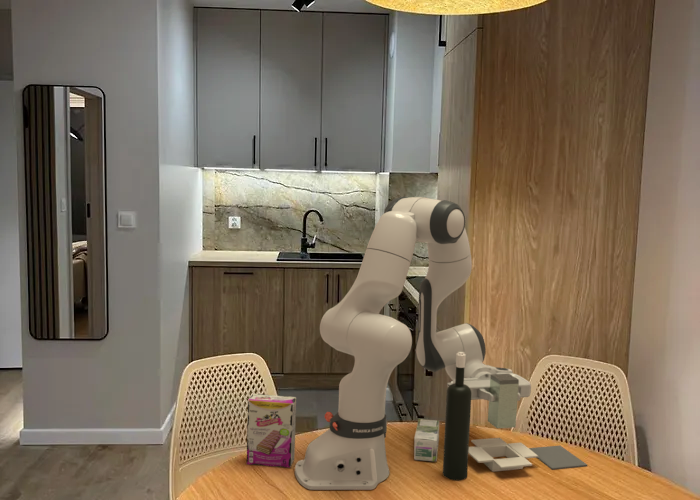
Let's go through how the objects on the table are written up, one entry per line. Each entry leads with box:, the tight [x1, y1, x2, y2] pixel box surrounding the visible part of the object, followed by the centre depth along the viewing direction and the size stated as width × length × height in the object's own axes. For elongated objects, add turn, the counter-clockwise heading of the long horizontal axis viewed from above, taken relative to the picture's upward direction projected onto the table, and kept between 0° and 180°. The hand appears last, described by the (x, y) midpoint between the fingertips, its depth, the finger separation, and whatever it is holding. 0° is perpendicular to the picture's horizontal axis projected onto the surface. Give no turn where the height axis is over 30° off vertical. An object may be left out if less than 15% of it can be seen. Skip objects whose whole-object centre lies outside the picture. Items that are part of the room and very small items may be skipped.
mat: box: [528, 445, 588, 471], centre depth 166 cm, size 10×12×1 cm
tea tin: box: [487, 374, 519, 429], centre depth 160 cm, size 5×5×12 cm
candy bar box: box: [246, 393, 297, 469], centre depth 157 cm, size 11×5×16 cm, turn 84°
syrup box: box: [413, 418, 440, 462], centre depth 168 cm, size 6×6×14 cm
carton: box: [468, 437, 538, 472], centre depth 161 cm, size 16×16×3 cm
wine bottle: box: [442, 352, 472, 481], centre depth 153 cm, size 6×6×30 cm
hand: (506, 398), depth 158 cm, fingers closed on tea tin, 5 cm apart
